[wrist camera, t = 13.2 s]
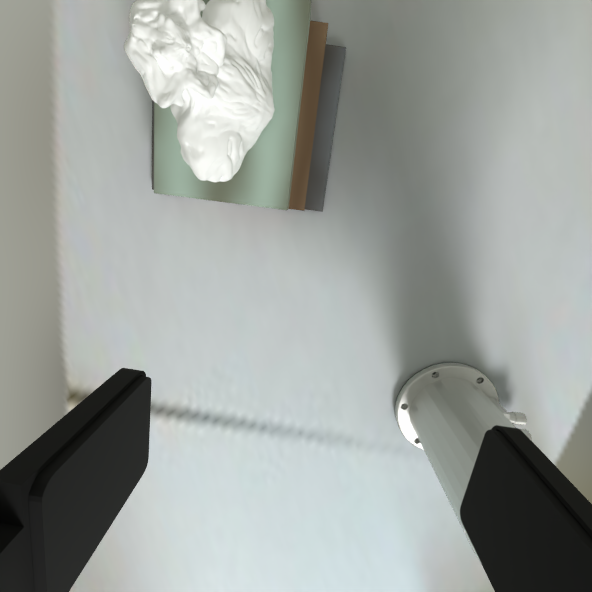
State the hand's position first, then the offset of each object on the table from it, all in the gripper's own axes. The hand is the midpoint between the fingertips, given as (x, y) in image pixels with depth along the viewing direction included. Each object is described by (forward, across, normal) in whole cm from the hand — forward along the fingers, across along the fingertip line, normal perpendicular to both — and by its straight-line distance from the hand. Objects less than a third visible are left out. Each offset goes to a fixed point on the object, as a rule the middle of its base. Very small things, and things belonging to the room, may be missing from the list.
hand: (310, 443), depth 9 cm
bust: (+21, +8, -13) cm, 26 cm away
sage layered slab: (+29, +9, -14) cm, 33 cm away
